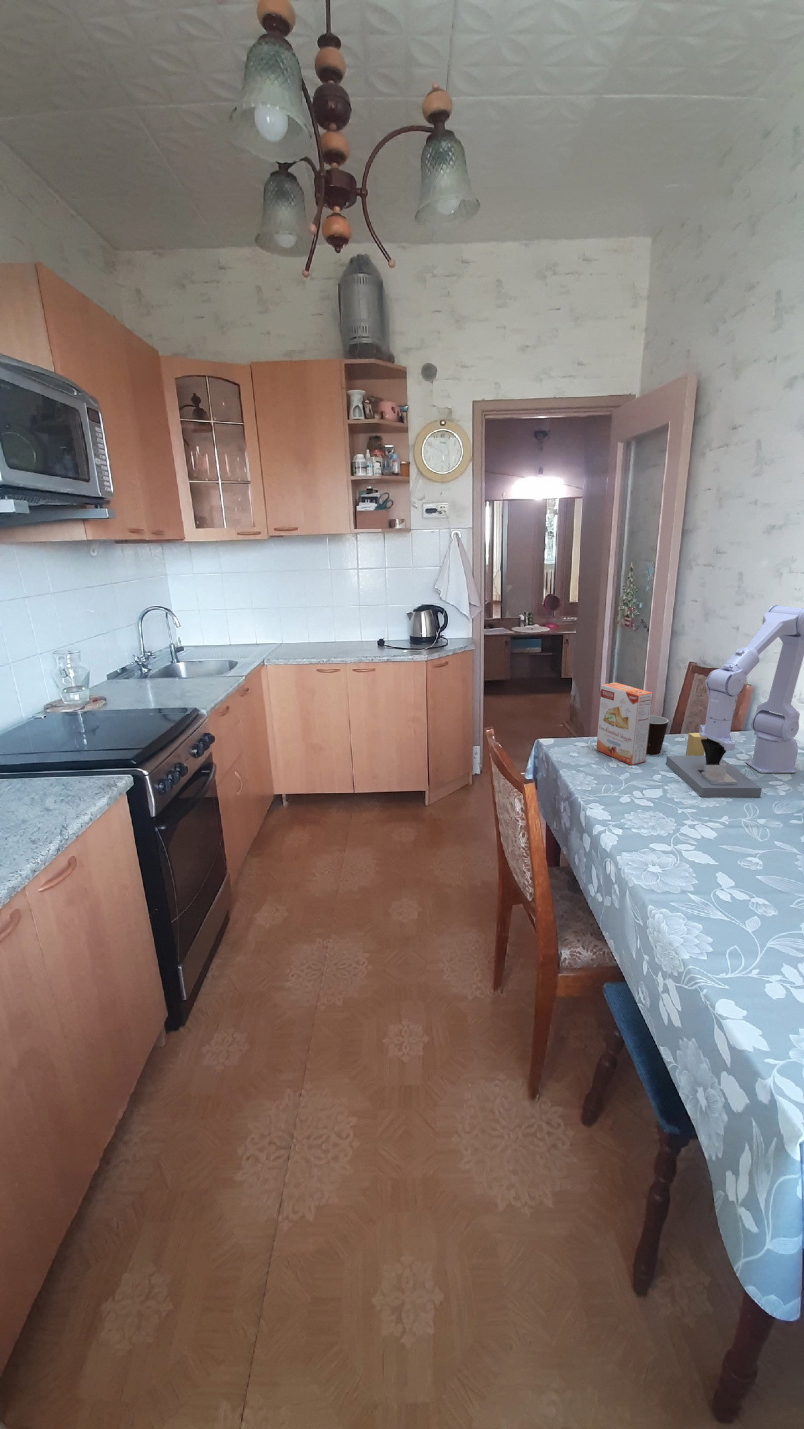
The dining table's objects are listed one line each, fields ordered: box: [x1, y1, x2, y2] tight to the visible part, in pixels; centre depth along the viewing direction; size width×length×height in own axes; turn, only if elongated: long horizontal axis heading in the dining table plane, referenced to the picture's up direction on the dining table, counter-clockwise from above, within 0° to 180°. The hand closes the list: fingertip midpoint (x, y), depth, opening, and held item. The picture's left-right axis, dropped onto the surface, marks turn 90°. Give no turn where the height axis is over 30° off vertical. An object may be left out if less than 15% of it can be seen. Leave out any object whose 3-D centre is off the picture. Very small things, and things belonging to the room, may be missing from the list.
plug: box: [685, 732, 707, 756], centre depth 164 cm, size 4×4×7 cm
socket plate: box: [665, 755, 763, 798], centre depth 149 cm, size 14×22×2 cm, turn 177°
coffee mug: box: [646, 714, 669, 756], centre depth 170 cm, size 12×9×10 cm
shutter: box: [701, 764, 737, 785], centre depth 142 cm, size 6×6×3 cm
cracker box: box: [595, 681, 654, 766], centre depth 164 cm, size 14×6×21 cm, turn 25°
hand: (711, 767), depth 146 cm, fingers closed
